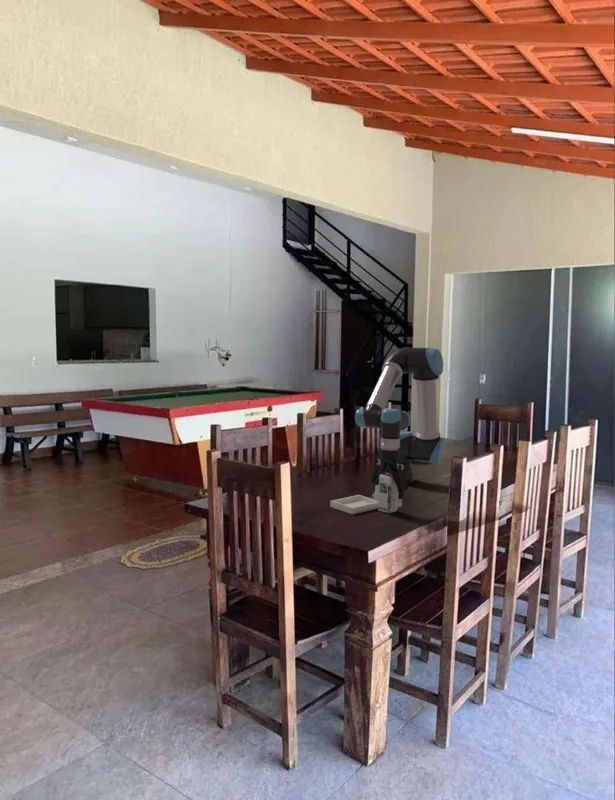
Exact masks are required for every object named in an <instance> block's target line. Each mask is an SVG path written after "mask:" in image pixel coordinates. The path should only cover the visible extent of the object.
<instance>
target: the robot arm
mask: <svg viewBox="0 0 615 800" xmlns="http://www.w3.org/2000/svg"><path fill="white" fill-rule="evenodd" d="M381 371H382V372H381V374H380V376H379V378H378V381H377V382H376V384H375V387H374V388H373V391H372V393H371V396H370V397H369V399H368V401H367V403H366V405H365V407H364V408H363V407H361V408H358V409H357V410H356V411H355V415H354V416H355V417H354V422H355V425H356V426H357V427H361V428H368V429H369V428H370V429H380V450H379V451H380V452H379V457H380V458H377V459H374V467H373V470H372V473H371V477H370V482H371V483H373V485H374V487H373V488H374V489H373V493H375V501H379V476H380V475H381V474H385V473H388V474H391V475H392V476H393V479H394V481H395V484H396V486H397V489H398V490H397V491H396V507H398V508H400V507H402V506H403V499H404V491H407V490H408V489H409V486H408V484H412V483H414V482H415V478H416V477H415V474H414V471H413V466H412V461H417V462H423V463H428V464H429V463H435V464H436V463H439V462H440V461H441V459H442V457H443V455H444V453H445V452H444V451H445V447H446V446H445V444H446V443H445V438H443V437H441V432H440V431H439V430H438V428H437V424H438V423H437V420H438V419H437V383H436V382H437V381H438V380H439V378H440V375H442V373H443V371H444V359H443V354H442V353H441V351H440V350H439V349H438V348H431V347H409V346H407V347H402V348H399V349H397V350H396V351H394V352H392V353H391V354H390V355H389V356H388V357H387V358H386V359H385V361H384V363H383V365H382V367H381ZM403 374H410V375H411V374H412V379H413V380H414V381H415V383H416V385H415V386H416V407H417V408H416V409H417V410H416V411H417V431H416V432H414V434H413V431H407V432H400V430H403V429H406V428H408V427H409V426H410V425H411V423H412V417H411V415H410V413H408V412H407V411H404V410H400V409H398V408H386V405H387V404H388V401H389V399H390V397H391V395H392V393H393V391H394V388H395V386H396V385H397V382H398V381H399V379H400V378H401V377H402V376H403Z"/></svg>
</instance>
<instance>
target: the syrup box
mask: <svg viewBox="0 0 615 800" xmlns="http://www.w3.org/2000/svg"><path fill="white" fill-rule="evenodd" d="M397 490H398V489H397V486H396V484H395V481H394V479H393V476H392V475H391V474H388V473H385V474H381V475H380V476H379V503H378V509H377V510H378V511H379V512H384V513H386V514H391V513H394V512H397V511H398V508H399V507H396V491H397Z"/></svg>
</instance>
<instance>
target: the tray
mask: <svg viewBox="0 0 615 800" xmlns="http://www.w3.org/2000/svg"><path fill="white" fill-rule="evenodd" d="M329 503H330V504H329V505H330V506H329V507H330V508H331V509H335V510H338V511H340V512H344V513H347V514H349V515H357V514H361V513H364V512H368V511H374V510H378V503H379V501H375V500H374V499H373V498H371V497H368V496H367V497H366V496H364V495H361V494H356V495H351V496H348V497H346V496H345V497H342V498H338V499H333V500H330V502H329Z"/></svg>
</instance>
